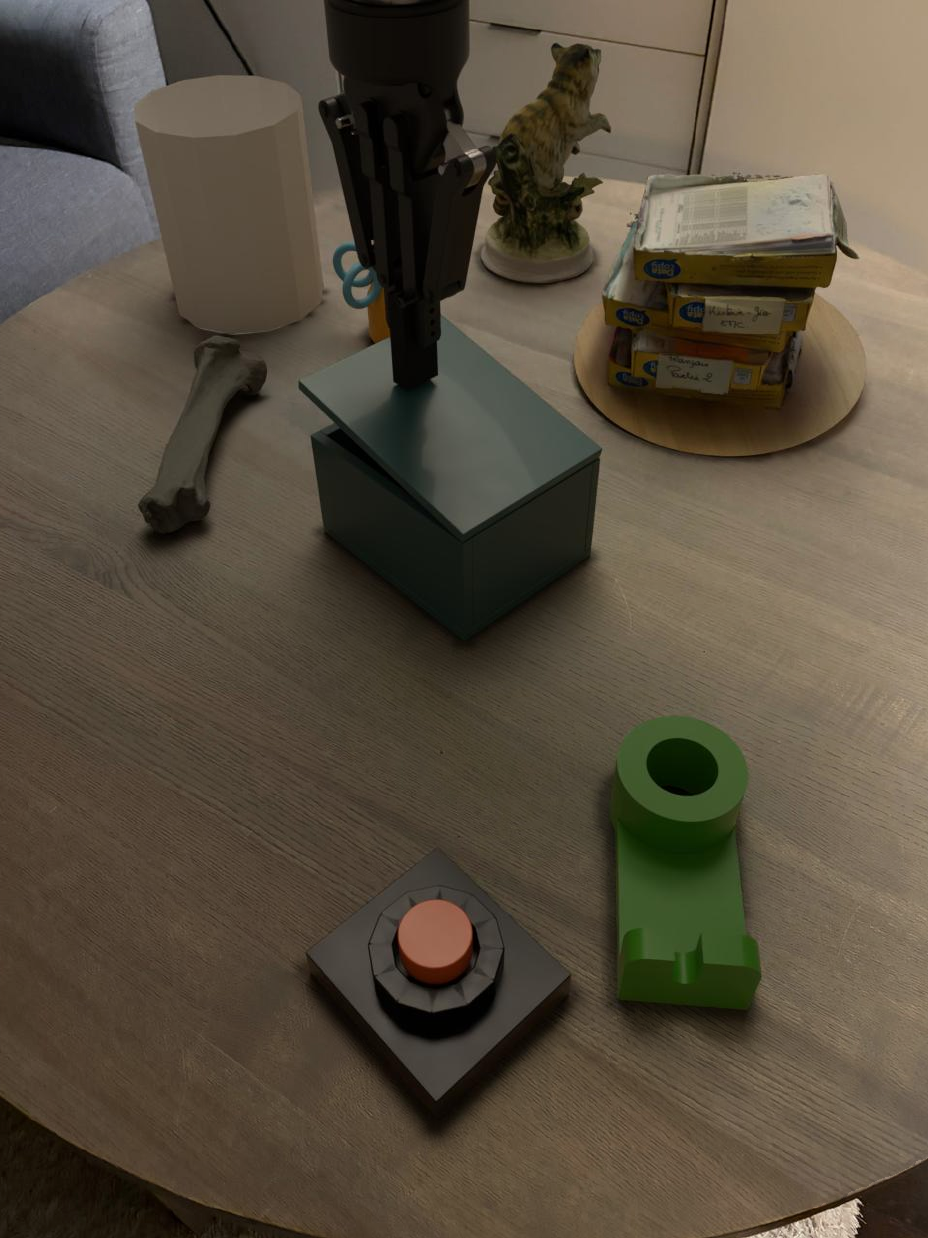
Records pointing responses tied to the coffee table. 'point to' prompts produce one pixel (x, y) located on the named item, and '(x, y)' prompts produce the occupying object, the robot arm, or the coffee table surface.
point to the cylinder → (374, 295)
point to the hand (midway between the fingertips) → (415, 378)
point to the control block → (443, 1013)
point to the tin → (451, 537)
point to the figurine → (545, 177)
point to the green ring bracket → (681, 867)
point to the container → (233, 200)
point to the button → (435, 941)
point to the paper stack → (725, 317)
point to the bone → (199, 433)
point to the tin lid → (453, 430)
